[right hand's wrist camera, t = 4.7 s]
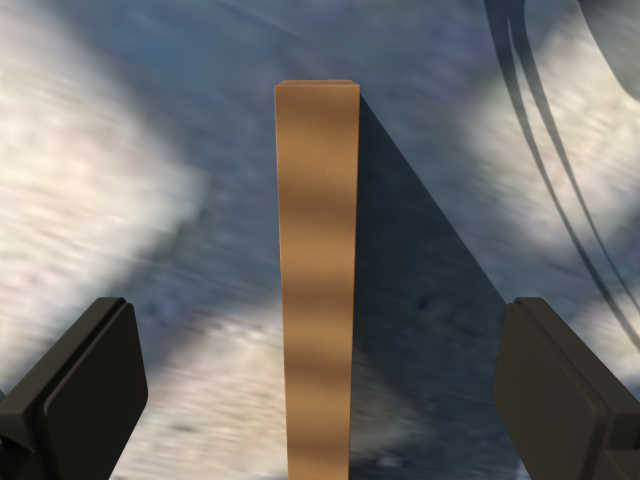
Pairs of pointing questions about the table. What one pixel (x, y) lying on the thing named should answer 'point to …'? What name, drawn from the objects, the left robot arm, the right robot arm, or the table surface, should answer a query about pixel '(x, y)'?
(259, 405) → the table surface
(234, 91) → the table surface
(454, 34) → the table surface
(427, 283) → the table surface
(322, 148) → the beam
